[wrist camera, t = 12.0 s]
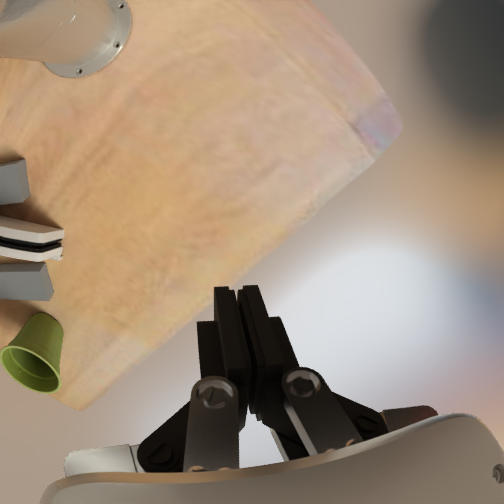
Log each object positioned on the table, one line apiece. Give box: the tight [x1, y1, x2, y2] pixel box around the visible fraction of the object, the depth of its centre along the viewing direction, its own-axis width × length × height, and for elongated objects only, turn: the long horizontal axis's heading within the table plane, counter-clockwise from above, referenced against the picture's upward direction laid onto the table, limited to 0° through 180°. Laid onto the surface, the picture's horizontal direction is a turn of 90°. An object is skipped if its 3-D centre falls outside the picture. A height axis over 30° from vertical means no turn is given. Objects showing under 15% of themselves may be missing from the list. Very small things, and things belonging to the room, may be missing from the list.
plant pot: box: [0, 313, 64, 394], centre depth 40 cm, size 12×12×11 cm
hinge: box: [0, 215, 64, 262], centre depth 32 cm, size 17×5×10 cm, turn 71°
